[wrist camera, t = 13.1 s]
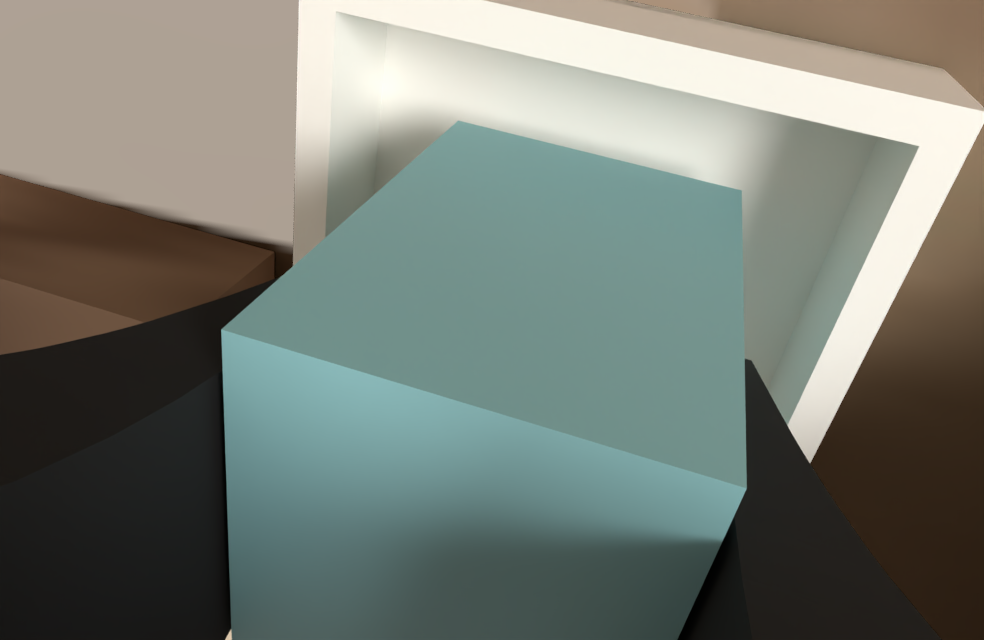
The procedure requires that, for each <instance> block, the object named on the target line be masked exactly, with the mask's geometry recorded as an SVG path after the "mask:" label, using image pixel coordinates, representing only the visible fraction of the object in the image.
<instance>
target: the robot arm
mask: <svg viewBox="0 0 984 640" xmlns="http://www.w3.org/2000/svg"><path fill="white" fill-rule="evenodd" d="M279 278H280V277H278V278H275V279H273V280H270V281H267V282H265V283H262V284H259V285H256V286H254V287H251V288H248V289H246V290H243V291H240V292H237V293H235V294H232V295H229V296H226V297H223V298H220V299H217V300H214V301H211V302H208V303H204V304H201V305H198V306H195V307H192V308H189V309H186V310H183V311H180V312H177V313H173V314H170V315H167V316H164V317H161V318H158V319H155V320H152V321H148V322H145V323H141V324H138V325H134V326H130V327H127V328H123V329H119V330H115V331H111V332H108V333H104V334H99V335H95V336H91V337H86V338H82V339H78V340H73V341H69V342H65V343H60V344H56V345H51V346H46V347H42V348H37V349H32V350H26V351H20V352H14V353H8V354H2V355H0V640H225V639H226V637H227V635H228V634H229V632H230V630H231V603H230V574H229V544H228V515H227V485H226V456H225V426H224V397H223V367H222V338H221V329H222V328H224V327H225V326H226V325H227V324H228V323H229V322H230V321H231V320H233V319H234V318H235V317H236V316H237V315H238V314H239V313H241V312H242V311H243V310H244V309H245V308H246V307H247V306H248V305H250V304H251V303H252V302H253V301H254V300H255V299H256V298H258V297H259V296H260V295H261V294H262V293H263V292H264V291H265V290H267V289H268V288H269V287H270V286H271V285H272V284H273V283H275V282H276V281H277V280H278V279H279ZM745 411H746V470H747V489H746V491H745V493H744V496H743V498H742V500H741V502H740V504H739V507H738V509H737V511H736V513H735V515H734V517H733V520H732V522H731V524H730V526H729V528H728V530H727V533H726V535H725V537H724V539H723V541H722V543H721V546H720V548H719V550H718V552H717V554H716V557H715V559H714V561H713V563H712V565H711V567H710V570H709V572H708V574H707V576H706V578H705V580H704V583H703V585H702V587H701V589H700V591H699V594H698V596H697V598H696V600H695V602H694V604H693V607H692V609H691V611H690V613H689V615H688V617H687V620H686V622H685V624H684V626H683V628H682V631H681V633H680V635H679V637H678V639H677V640H942V639H941V638H940V637H939V636H938V635H937V634H936V633H935V631H934V630H933V629H932V628H931V627H930V625H929V624H928V623H927V622H926V621H925V619H924V618H923V617H922V616H921V615H920V613H919V612H918V611H917V610H916V609H915V607H914V606H913V605H912V604H911V603H910V601H909V600H908V599H907V598H906V596H905V595H904V594H903V593H902V592H901V590H900V589H899V588H898V587H897V586H896V584H895V583H894V582H893V581H892V580H891V578H890V577H889V576H888V575H887V573H886V572H885V571H884V569H883V568H882V567H881V566H880V564H879V563H878V562H877V560H876V559H875V558H874V556H873V555H872V554H871V553H870V551H869V550H868V549H867V547H866V546H865V544H864V543H863V541H862V540H861V539H860V537H859V536H858V534H857V533H856V532H855V530H854V529H853V527H852V526H851V525H850V523H849V522H848V520H847V519H846V517H845V516H844V515H843V513H842V512H841V510H840V509H839V508H838V506H837V505H836V503H835V502H834V500H833V499H832V497H831V496H830V494H829V493H828V491H827V490H826V488H825V487H824V485H823V483H822V482H821V480H820V479H819V477H818V476H817V474H816V473H815V471H814V469H813V468H812V466H811V465H810V463H809V461H808V460H807V458H806V456H805V455H804V453H803V451H802V450H801V448H800V446H799V445H798V443H797V441H796V440H795V438H794V436H793V435H792V433H791V431H790V429H789V427H788V426H787V424H786V422H785V420H784V418H783V417H782V415H781V413H780V411H779V410H778V408H777V406H776V404H775V402H774V400H773V399H772V397H771V395H770V393H769V391H768V389H767V388H766V386H765V384H764V382H763V380H762V379H761V377H760V375H759V373H758V371H757V369H756V368H755V366H754V364H753V362H752V361H751V360H748V359H745Z"/></svg>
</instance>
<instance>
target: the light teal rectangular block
mask: <svg viewBox="0 0 984 640" xmlns="http://www.w3.org/2000/svg"><path fill="white" fill-rule="evenodd" d="M221 338H222V367H223V397H224V426H225V456H226V485H227V515H228V544H229V574H230V603H231V633H232V640H677V639H678V637H679V635H680V633H681V631H682V628H683V626H684V624H685V622H686V620H687V617H688V615H689V613H690V611H691V609H692V607H693V604H694V602H695V600H696V598H697V596H698V594H699V591H700V589H701V587H702V585H703V583H704V580H705V578H706V576H707V574H708V572H709V570H710V567H711V565H712V563H713V561H714V559H715V557H716V554H717V552H718V550H719V548H720V546H721V543H722V541H723V539H724V537H725V535H726V533H727V530H728V528H729V526H730V524H731V522H732V520H733V517H734V515H735V513H736V511H737V509H738V507H739V504H740V502H741V500H742V498H743V496H744V493H745V491H746V489H747V470H746V411H745V352H744V292H743V233H742V190H738V189H734V188H730V187H726V186H722V185H717V184H713V183H709V182H705V181H701V180H697V179H693V178H689V177H685V176H681V175H677V174H673V173H669V172H665V171H661V170H657V169H653V168H649V167H645V166H640V165H636V164H632V163H628V162H624V161H620V160H616V159H612V158H608V157H604V156H600V155H596V154H592V153H588V152H584V151H580V150H576V149H572V148H568V147H564V146H559V145H555V144H551V143H547V142H543V141H539V140H535V139H531V138H527V137H523V136H519V135H515V134H511V133H507V132H503V131H499V130H495V129H491V128H487V127H482V126H478V125H474V124H470V123H466V122H462V121H457V122H456V123H455V124H454V125H453V126H451V127H450V128H449V129H448V130H447V131H446V132H445V133H444V134H442V135H441V136H440V137H439V138H438V139H437V140H436V141H434V142H433V143H432V144H431V145H430V146H429V147H428V148H427V149H425V150H424V151H423V152H422V153H421V154H420V155H419V156H417V157H416V158H415V159H414V160H413V161H412V162H411V163H409V164H408V165H407V166H406V167H405V168H404V169H403V170H402V171H400V172H399V173H398V174H397V175H396V176H395V177H394V178H392V179H391V180H390V181H389V182H388V183H387V184H386V185H385V186H383V187H382V188H381V189H380V190H379V191H378V192H377V193H375V194H374V195H373V196H372V197H371V198H370V199H369V200H368V201H366V202H365V203H364V204H363V205H362V206H361V207H360V208H358V209H357V210H356V211H355V212H354V213H353V214H352V215H351V216H349V217H348V218H347V219H346V220H345V221H344V222H343V223H341V224H340V225H339V226H338V227H337V228H336V229H335V230H334V231H332V232H331V233H330V234H329V235H328V236H327V237H326V238H324V239H323V240H322V241H321V242H320V243H319V244H318V245H317V246H315V247H314V248H313V249H312V250H311V251H310V252H309V253H307V254H306V255H305V256H304V257H303V258H302V259H301V260H299V261H298V262H297V263H296V264H295V265H294V266H293V267H292V268H290V269H289V270H288V271H287V272H286V273H285V274H284V275H282V276H281V277H280V278H279V279H278V280H277V281H276V282H275V283H273V284H272V285H271V286H270V287H269V288H268V289H267V290H265V291H264V292H263V293H262V294H261V295H260V296H259V297H258V298H256V299H255V300H254V301H253V302H252V303H251V304H250V305H248V306H247V307H246V308H245V309H244V310H243V311H242V312H241V313H239V314H238V315H237V316H236V317H235V318H234V319H233V320H231V321H230V322H229V323H228V324H227V325H226V326H225V327H224V328H222V329H221Z"/></svg>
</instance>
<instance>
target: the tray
mask: <svg viewBox="0 0 984 640" xmlns="http://www.w3.org/2000/svg"><path fill="white" fill-rule="evenodd" d="M298 12H299V13H298V57H297V101H296V102H297V104H296V148H295V191H294V236H293V266H294V265H295V264H296V263H297V262H298V261H299V260H301V259H302V258H303V257H304V256H305V255H306V254H307V253H309V252H310V251H311V250H312V249H313V248H314V247H315V246H317V245H318V244H319V243H320V242H321V241H322V240H323V239H324V238H326V237H327V236H328V235H329V234H330V233H331V232H332V231H334V230H335V229H336V228H337V227H338V226H339V225H340V224H341V223H343V222H344V221H345V220H346V219H347V218H348V217H349V216H351V215H352V214H353V213H354V212H355V211H356V210H357V209H358V208H360V207H361V206H362V205H363V204H364V203H365V202H366V201H368V200H369V199H370V198H371V197H372V196H373V195H374V194H375V193H377V192H378V191H379V190H380V189H381V188H382V187H383V186H385V185H386V184H387V183H388V182H389V181H390V180H391V179H392V178H394V177H395V176H396V175H397V174H398V173H399V172H400V171H402V170H403V169H404V168H405V167H406V166H407V165H408V164H409V163H411V162H412V161H413V160H414V159H415V158H416V157H417V156H419V155H420V154H421V153H422V152H423V151H424V150H425V149H427V148H428V147H429V146H430V145H431V144H432V143H433V142H434V141H436V140H437V139H438V138H439V137H440V136H441V135H442V134H444V133H445V132H446V131H447V130H448V129H449V128H450V127H451V126H453V125H454V124H455V123H456V122H457V121H462V122H466V123H470V124H474V125H478V126H482V127H487V128H491V129H495V130H499V131H503V132H507V133H511V134H515V135H519V136H523V137H527V138H531V139H535V140H539V141H543V142H547V143H551V144H555V145H559V146H564V147H568V148H572V149H576V150H580V151H584V152H588V153H592V154H596V155H600V156H604V157H608V158H612V159H616V160H620V161H624V162H628V163H632V164H636V165H640V166H645V167H649V168H653V169H657V170H661V171H665V172H669V173H673V174H677V175H681V176H685V177H689V178H693V179H697V180H701V181H705V182H709V183H713V184H717V185H722V186H726V187H730V188H734V189H738V190H742V233H743V292H744V352H745V359H748V360H751V361H752V362H753V364H754V366H755V368H756V369H757V371H758V373H759V375H760V377H761V379H762V380H763V382H764V384H765V386H766V388H767V389H768V391H769V393H770V395H771V397H772V399H773V400H774V402H775V404H776V406H777V408H778V410H779V411H780V413H781V415H782V417H783V418H784V420H785V422H786V424H787V426H788V427H789V429H790V431H791V433H792V435H793V436H794V438H795V440H796V441H797V443H798V445H799V446H800V448H801V450H802V451H803V453H804V455H805V456H806V458H807V460H808V461H809V463H811V461H812V459H813V457H814V455H815V453H816V451H817V449H818V447H819V445H820V443H821V441H822V439H823V437H824V435H825V433H826V431H827V430H828V428H829V426H830V424H831V422H832V420H833V418H834V416H835V414H836V412H837V410H838V408H839V406H840V404H841V402H842V400H843V398H844V396H845V394H846V392H847V390H848V388H849V386H850V384H851V382H852V381H853V379H854V377H855V375H856V373H857V371H858V369H859V367H860V365H861V363H862V361H863V359H864V357H865V355H866V353H867V351H868V349H869V347H870V345H871V343H872V341H873V339H874V337H875V335H876V333H877V332H878V330H879V328H880V326H881V324H882V322H883V320H884V318H885V316H886V314H887V312H888V310H889V308H890V306H891V304H892V302H893V300H894V298H895V296H896V294H897V292H898V290H899V288H900V286H901V284H902V283H903V281H904V279H905V277H906V275H907V273H908V271H909V269H910V267H911V265H912V263H913V261H914V259H915V257H916V255H917V253H918V251H919V249H920V247H921V245H922V243H923V241H924V239H925V237H926V235H927V234H928V232H929V230H930V228H931V226H932V224H933V222H934V220H935V218H936V216H937V214H938V212H939V210H940V208H941V206H942V204H943V202H944V200H945V198H946V196H947V194H948V192H949V190H950V188H951V186H952V185H953V183H954V181H955V179H956V177H957V175H958V173H959V171H960V169H961V167H962V165H963V163H964V161H965V159H966V157H967V155H968V153H969V151H970V149H971V147H972V145H973V143H974V141H975V139H976V137H977V136H978V134H979V132H980V130H981V128H982V126H983V124H984V107H983V106H982V105H981V104H980V103H979V102H978V101H977V100H976V99H974V98H973V97H972V96H971V95H970V94H969V93H968V92H967V91H966V90H965V89H964V88H963V87H962V86H961V85H960V84H959V83H958V82H957V81H956V80H955V79H954V78H953V77H952V76H951V75H949V74H948V73H947V72H946V71H945V70H944V69H943V68H938V67H934V66H929V65H924V64H920V63H915V62H910V61H906V60H901V59H897V58H892V57H887V56H883V55H878V54H873V53H869V52H864V51H860V50H855V49H850V48H846V47H841V46H836V45H832V44H827V43H823V42H818V41H813V40H809V39H804V38H799V37H795V36H790V35H786V34H781V33H776V32H772V31H767V30H762V29H758V28H753V27H749V26H744V25H739V24H735V23H730V22H725V21H721V20H716V19H712V18H707V17H702V16H697V15H693V14H688V13H684V12H679V11H674V10H670V9H665V8H660V7H656V6H651V5H646V4H642V3H637V2H633V1H628V0H299V11H298Z"/></svg>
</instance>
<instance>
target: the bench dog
mask: <svg viewBox="0 0 984 640" xmlns="http://www.w3.org/2000/svg"><path fill="white" fill-rule="evenodd" d="M273 279H274V252H273V251H269V250H266V249H262V248H259V247H255V246H252V245H248V244H245V243H241V242H238V241H234V240H231V239H227V238H223V237H220V236H216V235H213V234H209V233H206V232H202V231H199V230H195V229H192V228H188V227H185V226H181V225H178V224H174V223H171V222H167V221H164V220H160V219H156V218H153V217H149V216H146V215H142V214H139V213H135V212H132V211H128V210H125V209H121V208H118V207H114V206H111V205H107V204H104V203H100V202H96V201H93V200H89V199H86V198H82V197H79V196H75V195H72V194H68V193H65V192H61V191H58V190H54V189H51V188H47V187H44V186H40V185H36V184H33V183H29V182H26V181H22V180H19V179H15V178H12V177H8V176H5V175H1V174H0V355H2V354H8V353H14V352H20V351H26V350H32V349H37V348H42V347H46V346H51V345H56V344H60V343H65V342H69V341H73V340H78V339H82V338H86V337H91V336H95V335H99V334H104V333H108V332H111V331H115V330H119V329H123V328H127V327H130V326H134V325H138V324H141V323H145V322H148V321H152V320H155V319H158V318H161V317H164V316H167V315H170V314H173V313H177V312H180V311H183V310H186V309H189V308H192V307H195V306H198V305H201V304H204V303H208V302H211V301H214V300H217V299H220V298H223V297H226V296H229V295H232V294H235V293H237V292H240V291H243V290H246V289H248V288H251V287H254V286H256V285H259V284H262V283H265V282H267V281H270V280H273Z"/></svg>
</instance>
